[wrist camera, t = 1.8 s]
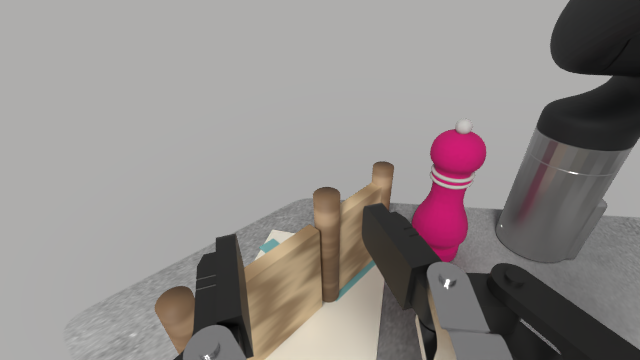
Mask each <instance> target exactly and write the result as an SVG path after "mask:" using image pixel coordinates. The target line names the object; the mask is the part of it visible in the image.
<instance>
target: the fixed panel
mask: <svg viewBox="0 0 640 360" xmlns="http://www.w3.org/2000/svg"><path fill="white" fill-rule="evenodd" d="M393 172H394V166H393V165H392V164H390V163H388V162H377V163H375V164H374V165H373V173H372V183H370V184H369V185H367V186H366V187H364V188H363V189H361V190H360V191H358V192H357V193H355V194H354V195H353V196H351V197H349V198H348V199H346V200H345V201H343V202H342V203H340V192H339V191H338V190H337V189H335V188H331V187H323V188H319V189H317V190H316V191H315V192H314V194H313V202H314V222H315V228H316V229H317V230H319V233H320V259H321V284H322V301H324V302H327V303H330V302H334V301H335V300H337V298H338V297H339V290H341V289H342V288H343V287H344V286H345V285H346V284H347V283H348V282H349V281H350V280H351V279H352V278H354V277H355V276H356V275H357V274H358V273H359V272H360V271H361V270H362V269H363V268H364V267H365V266H367V265H368V264H369V263H370V262H371V261H372V260H373V259H372V257H371V256H370V254H369V252H368V251H367V249H366V247H365V245H364V243H363V239H362V218H363V208H364V206H367V205H372V204H377V203H383V204H384V206H385V207H386V208H387V209H388V211H389V204H390V196H391V188H392V180H393Z"/></svg>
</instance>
